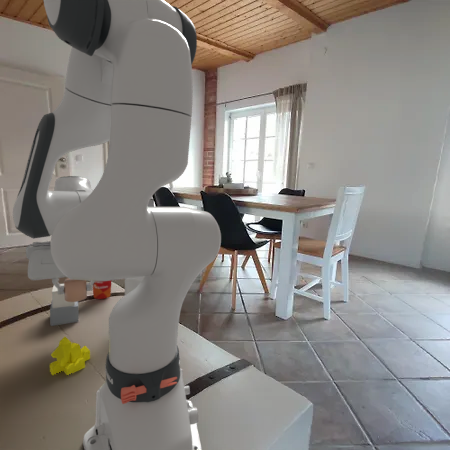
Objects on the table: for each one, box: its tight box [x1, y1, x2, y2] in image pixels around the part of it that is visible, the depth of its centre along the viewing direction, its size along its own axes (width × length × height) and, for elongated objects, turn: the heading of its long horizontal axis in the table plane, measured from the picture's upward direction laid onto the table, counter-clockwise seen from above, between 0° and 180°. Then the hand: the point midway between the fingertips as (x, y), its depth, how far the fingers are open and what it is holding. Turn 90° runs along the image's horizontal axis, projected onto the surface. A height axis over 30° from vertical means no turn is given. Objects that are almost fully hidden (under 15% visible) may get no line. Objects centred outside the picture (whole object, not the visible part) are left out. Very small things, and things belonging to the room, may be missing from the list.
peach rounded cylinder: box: [63, 277, 88, 302], centre depth 74 cm, size 5×5×5 cm
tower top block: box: [51, 283, 75, 308], centre depth 83 cm, size 6×6×5 cm
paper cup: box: [92, 280, 113, 300], centre depth 99 cm, size 8×8×14 cm
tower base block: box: [49, 301, 79, 327], centre depth 83 cm, size 7×7×5 cm
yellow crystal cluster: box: [49, 336, 91, 376], centre depth 63 cm, size 6×8×8 cm
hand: (75, 291), depth 74 cm, fingers closed on peach rounded cylinder, 5 cm apart
